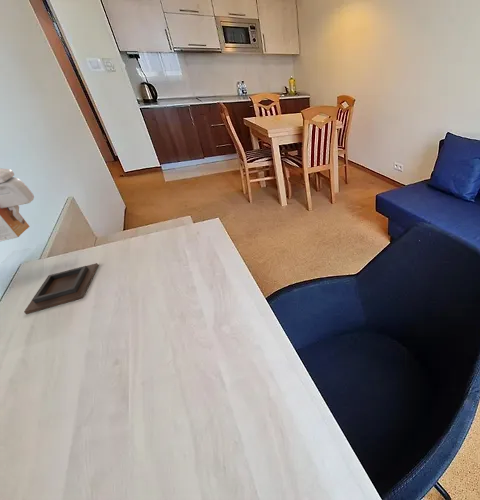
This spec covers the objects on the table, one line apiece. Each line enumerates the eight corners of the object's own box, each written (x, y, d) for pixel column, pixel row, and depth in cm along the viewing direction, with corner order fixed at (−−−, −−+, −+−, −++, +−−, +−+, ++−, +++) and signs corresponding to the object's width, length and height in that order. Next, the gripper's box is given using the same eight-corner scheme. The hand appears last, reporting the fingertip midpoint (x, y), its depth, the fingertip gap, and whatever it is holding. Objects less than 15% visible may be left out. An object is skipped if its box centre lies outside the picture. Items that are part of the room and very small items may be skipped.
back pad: (26, 314, 86) (19, 308, 85) (50, 277, 100) (45, 272, 99) (82, 298, 90) (77, 292, 89) (98, 265, 104) (94, 259, 102)
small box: (18, 237, 92) (-8, 206, 86) (-4, 242, 90) (-32, 211, 84) (30, 226, 98) (7, 196, 92) (9, 230, 96) (-16, 200, 90)
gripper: (-90, 191, 79) (-46, 236, 86) (7, 175, 84) (40, 218, 92) (-73, 183, 83) (-33, 226, 91) (18, 168, 89) (48, 210, 97)
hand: (4, 222), depth 92 cm, fingers closed on small box, 5 cm apart
